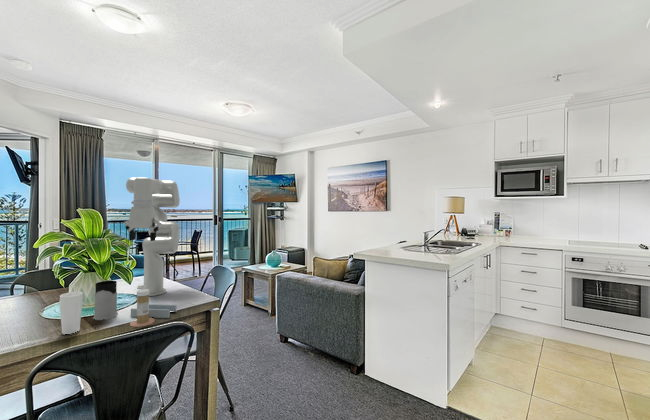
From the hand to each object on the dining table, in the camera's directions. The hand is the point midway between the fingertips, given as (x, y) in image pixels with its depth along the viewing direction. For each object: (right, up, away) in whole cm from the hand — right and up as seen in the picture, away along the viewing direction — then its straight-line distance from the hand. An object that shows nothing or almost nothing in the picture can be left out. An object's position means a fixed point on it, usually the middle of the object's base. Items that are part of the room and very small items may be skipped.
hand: (142, 240), depth 136 cm
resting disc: (+8, -34, -12) cm, 37 cm away
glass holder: (-13, -33, -4) cm, 36 cm away
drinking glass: (-13, -34, -23) cm, 43 cm away
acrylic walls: (+7, -34, -3) cm, 35 cm away
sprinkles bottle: (+8, -34, -12) cm, 37 cm away
